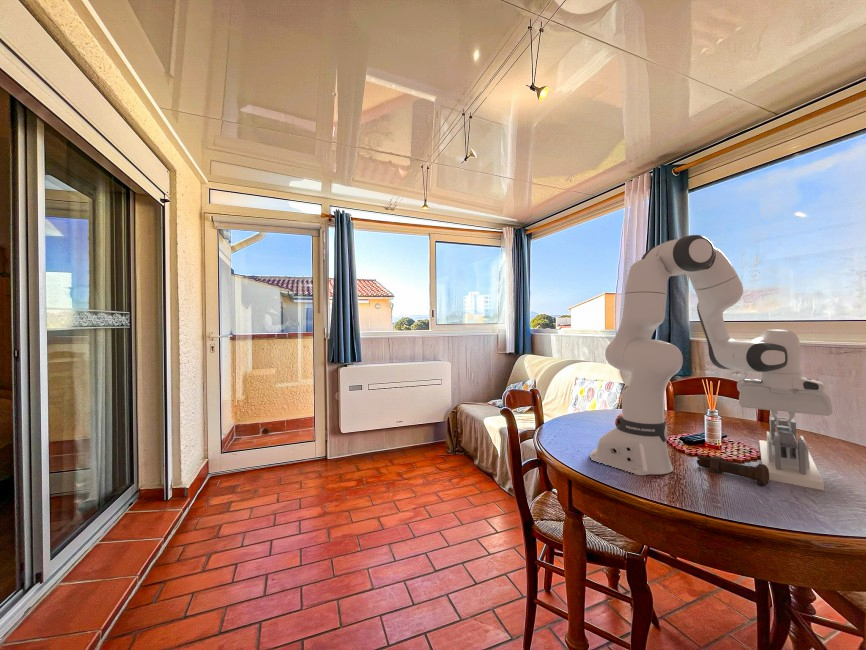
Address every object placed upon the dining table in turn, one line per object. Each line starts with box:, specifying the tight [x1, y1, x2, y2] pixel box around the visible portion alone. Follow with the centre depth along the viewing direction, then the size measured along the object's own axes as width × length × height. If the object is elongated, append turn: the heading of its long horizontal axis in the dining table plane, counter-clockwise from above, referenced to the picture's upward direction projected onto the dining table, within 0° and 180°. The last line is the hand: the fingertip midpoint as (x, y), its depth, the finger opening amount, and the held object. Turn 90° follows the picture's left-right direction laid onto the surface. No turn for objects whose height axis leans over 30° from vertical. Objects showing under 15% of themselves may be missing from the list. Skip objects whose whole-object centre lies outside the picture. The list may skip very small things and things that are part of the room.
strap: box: [775, 424, 798, 449], centre depth 101 cm, size 3×24×1 cm, turn 137°
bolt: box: [696, 455, 770, 487], centre depth 96 cm, size 6×5×15 cm
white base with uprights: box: [758, 415, 825, 491], centre depth 101 cm, size 11×32×11 cm, turn 137°
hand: (783, 425), depth 106 cm, fingers closed
